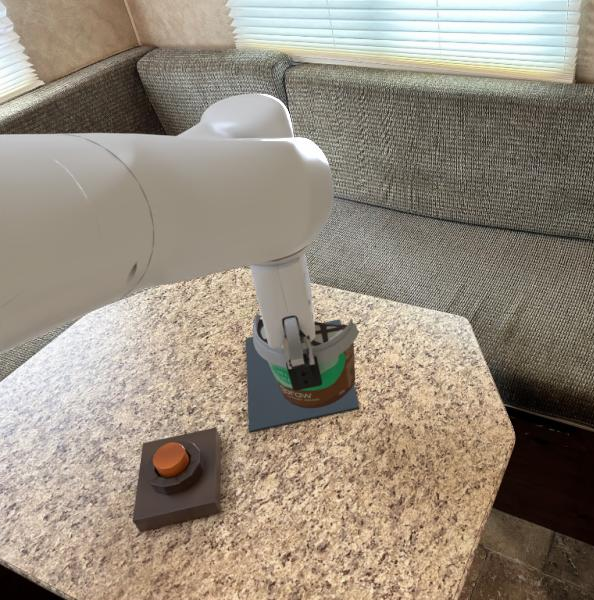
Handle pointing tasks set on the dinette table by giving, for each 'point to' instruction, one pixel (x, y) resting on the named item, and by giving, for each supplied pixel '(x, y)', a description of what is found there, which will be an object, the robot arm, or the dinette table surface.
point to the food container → (331, 359)
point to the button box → (180, 483)
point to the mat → (281, 396)
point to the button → (171, 460)
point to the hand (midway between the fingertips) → (304, 360)
